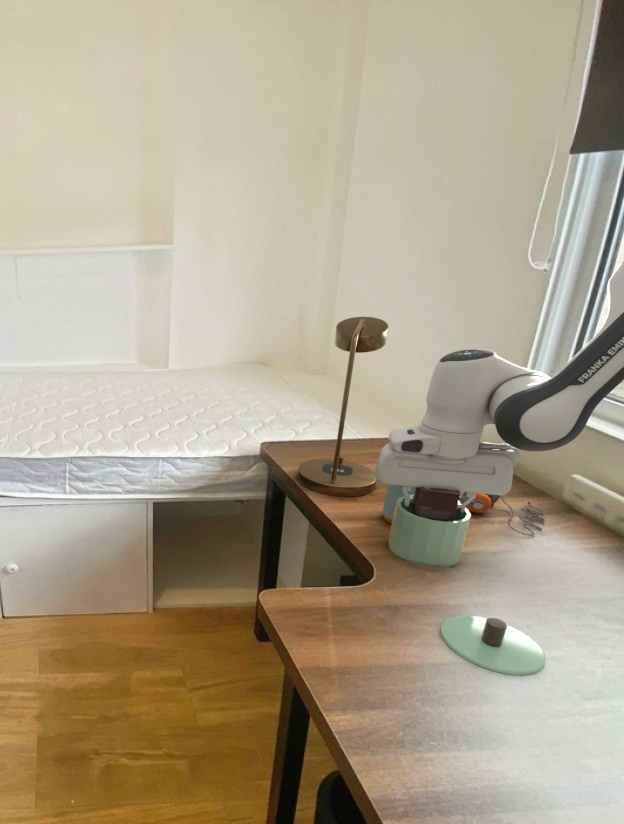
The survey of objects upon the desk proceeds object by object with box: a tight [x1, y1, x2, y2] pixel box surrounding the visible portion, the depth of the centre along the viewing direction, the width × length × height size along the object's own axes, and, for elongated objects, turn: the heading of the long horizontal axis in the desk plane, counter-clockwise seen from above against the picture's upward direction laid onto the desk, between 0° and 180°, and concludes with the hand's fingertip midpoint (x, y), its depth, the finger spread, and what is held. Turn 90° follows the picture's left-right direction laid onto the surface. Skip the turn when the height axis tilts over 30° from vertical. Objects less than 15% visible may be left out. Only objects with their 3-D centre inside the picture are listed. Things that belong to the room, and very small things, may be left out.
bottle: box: [381, 484, 416, 525], centre depth 116 cm, size 7×7×15 cm
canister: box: [387, 495, 472, 568], centre depth 106 cm, size 11×11×10 cm
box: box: [411, 487, 461, 521], centre depth 104 cm, size 6×6×7 cm
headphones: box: [459, 492, 546, 537], centre depth 119 cm, size 17×5×20 cm
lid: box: [440, 615, 546, 676], centre depth 83 cm, size 12×12×5 cm
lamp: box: [296, 316, 389, 498], centre depth 134 cm, size 17×27×38 cm, turn 146°
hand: (432, 508), depth 104 cm, fingers closed on box, 6 cm apart
